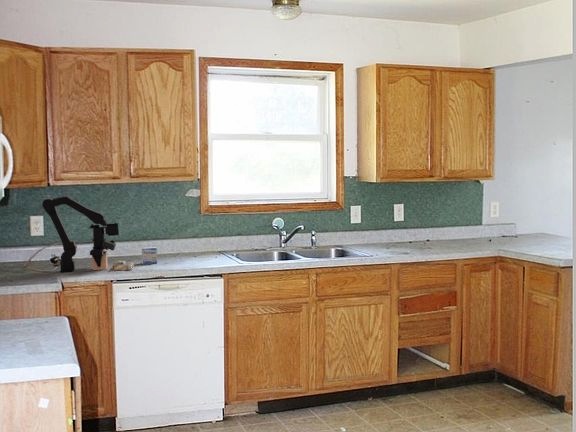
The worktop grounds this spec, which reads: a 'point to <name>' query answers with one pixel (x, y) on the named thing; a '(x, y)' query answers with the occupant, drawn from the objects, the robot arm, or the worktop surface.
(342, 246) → the worktop surface
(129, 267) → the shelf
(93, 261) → the box
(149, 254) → the medicine box
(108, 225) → the robot arm
